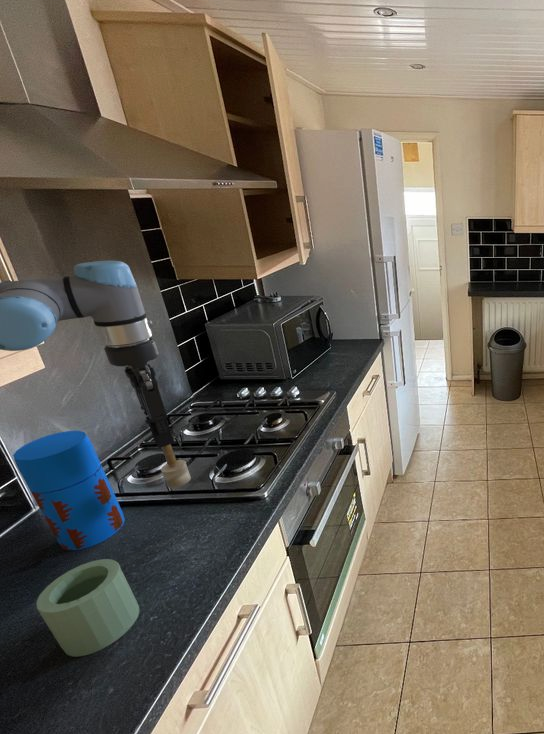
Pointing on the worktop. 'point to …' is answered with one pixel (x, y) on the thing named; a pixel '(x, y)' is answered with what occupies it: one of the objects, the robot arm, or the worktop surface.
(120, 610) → the green faceted pot
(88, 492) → the thermos
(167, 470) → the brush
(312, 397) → the worktop surface
